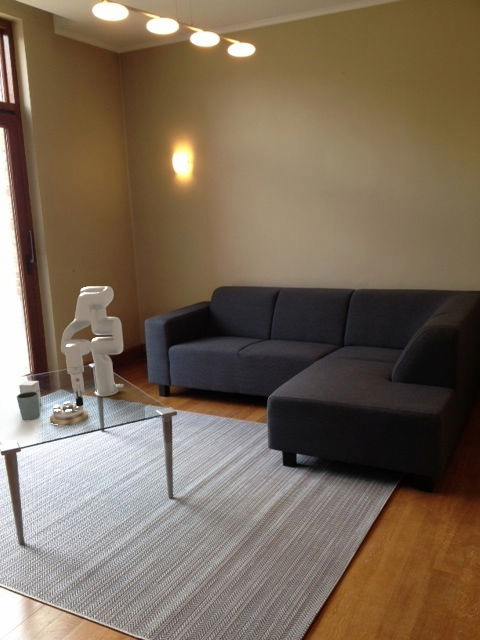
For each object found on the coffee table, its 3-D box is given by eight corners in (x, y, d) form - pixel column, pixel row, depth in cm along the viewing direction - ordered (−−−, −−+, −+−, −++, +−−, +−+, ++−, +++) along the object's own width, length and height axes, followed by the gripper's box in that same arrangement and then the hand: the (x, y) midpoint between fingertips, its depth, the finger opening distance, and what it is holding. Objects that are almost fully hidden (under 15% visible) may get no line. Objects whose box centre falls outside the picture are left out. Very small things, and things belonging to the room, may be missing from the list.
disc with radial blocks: (82, 407, 293) (79, 388, 291) (84, 416, 280) (82, 396, 278) (53, 412, 288) (50, 392, 286) (54, 421, 276) (52, 401, 273)
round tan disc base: (86, 409, 296) (85, 404, 295) (90, 421, 279) (89, 416, 279) (49, 415, 290) (48, 411, 290) (51, 428, 274) (50, 423, 273)
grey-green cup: (31, 422, 284) (28, 398, 281) (15, 420, 287) (11, 397, 285) (45, 414, 293) (42, 391, 290) (29, 412, 296) (25, 390, 294)
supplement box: (34, 408, 303) (31, 385, 300) (21, 408, 304) (18, 385, 301) (42, 403, 310) (38, 380, 307) (29, 403, 311) (26, 380, 308)
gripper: (85, 372, 270) (89, 409, 274) (82, 364, 284) (86, 399, 288) (68, 374, 268) (73, 411, 272) (66, 366, 282) (70, 402, 286)
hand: (80, 405), depth 280 cm, fingers closed
